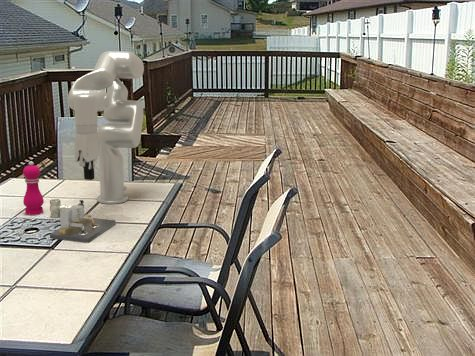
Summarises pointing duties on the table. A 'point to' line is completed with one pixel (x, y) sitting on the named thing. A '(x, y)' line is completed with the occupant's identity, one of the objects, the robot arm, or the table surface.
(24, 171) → the magenta pepper mill
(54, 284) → the table surface
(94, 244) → the table surface
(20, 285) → the table surface
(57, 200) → the valve
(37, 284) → the table surface
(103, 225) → the bolt plate
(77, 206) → the block
